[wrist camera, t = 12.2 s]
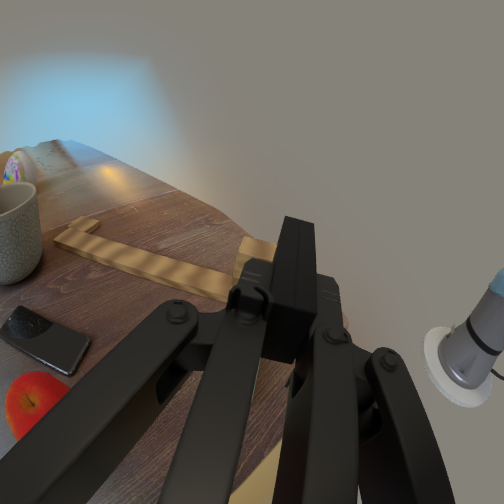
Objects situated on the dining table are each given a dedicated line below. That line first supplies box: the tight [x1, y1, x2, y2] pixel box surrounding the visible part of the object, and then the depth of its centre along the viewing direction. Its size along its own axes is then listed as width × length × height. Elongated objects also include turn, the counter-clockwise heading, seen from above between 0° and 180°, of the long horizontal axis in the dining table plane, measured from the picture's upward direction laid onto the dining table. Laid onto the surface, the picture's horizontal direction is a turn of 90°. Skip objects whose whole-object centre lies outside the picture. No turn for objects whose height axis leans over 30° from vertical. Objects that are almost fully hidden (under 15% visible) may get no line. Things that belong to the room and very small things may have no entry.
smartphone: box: [0, 306, 91, 376], centre depth 30 cm, size 7×1×16 cm
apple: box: [5, 371, 70, 441], centre depth 18 cm, size 9×9×12 cm
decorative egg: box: [4, 151, 36, 186], centre depth 60 cm, size 12×12×15 cm
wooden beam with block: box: [53, 216, 277, 303], centre depth 49 cm, size 49×14×12 cm, turn 80°
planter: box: [0, 182, 43, 285], centre depth 36 cm, size 17×17×15 cm
